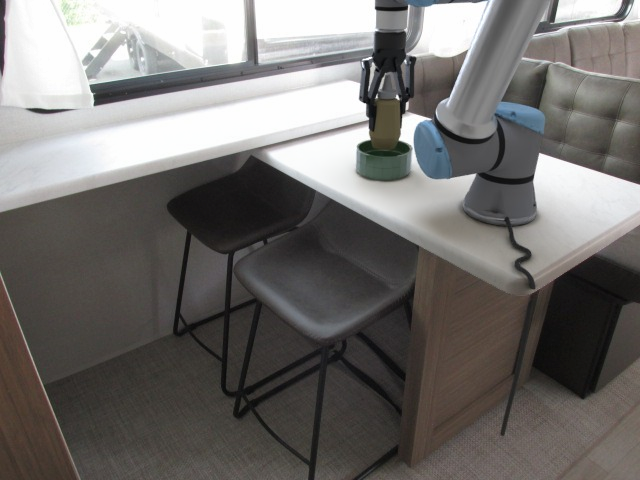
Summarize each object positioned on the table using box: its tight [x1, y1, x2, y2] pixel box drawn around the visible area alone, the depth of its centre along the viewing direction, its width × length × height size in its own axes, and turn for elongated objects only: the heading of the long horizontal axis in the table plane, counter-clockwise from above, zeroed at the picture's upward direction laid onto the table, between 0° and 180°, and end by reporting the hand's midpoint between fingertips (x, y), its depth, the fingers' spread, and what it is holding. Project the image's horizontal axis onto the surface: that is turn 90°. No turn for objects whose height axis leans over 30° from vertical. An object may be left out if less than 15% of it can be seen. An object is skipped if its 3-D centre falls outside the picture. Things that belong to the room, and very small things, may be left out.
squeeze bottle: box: [368, 73, 402, 150], centre depth 126 cm, size 8×8×18 cm
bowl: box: [355, 139, 414, 182], centre depth 132 cm, size 14×14×6 cm
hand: (385, 128), depth 128 cm, fingers closed on squeeze bottle, 6 cm apart
